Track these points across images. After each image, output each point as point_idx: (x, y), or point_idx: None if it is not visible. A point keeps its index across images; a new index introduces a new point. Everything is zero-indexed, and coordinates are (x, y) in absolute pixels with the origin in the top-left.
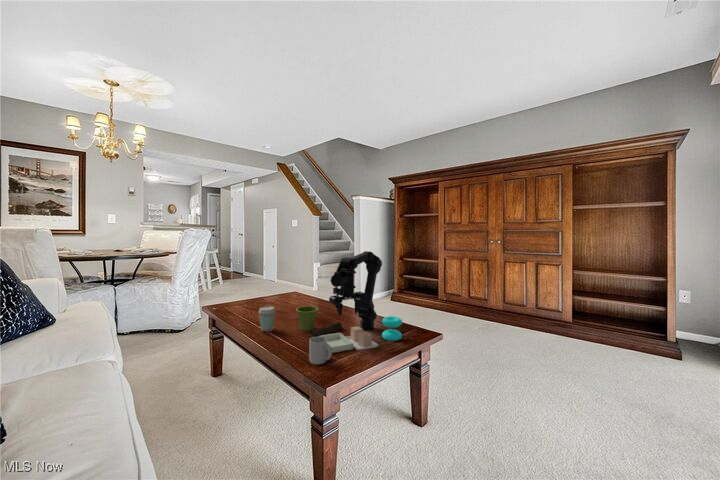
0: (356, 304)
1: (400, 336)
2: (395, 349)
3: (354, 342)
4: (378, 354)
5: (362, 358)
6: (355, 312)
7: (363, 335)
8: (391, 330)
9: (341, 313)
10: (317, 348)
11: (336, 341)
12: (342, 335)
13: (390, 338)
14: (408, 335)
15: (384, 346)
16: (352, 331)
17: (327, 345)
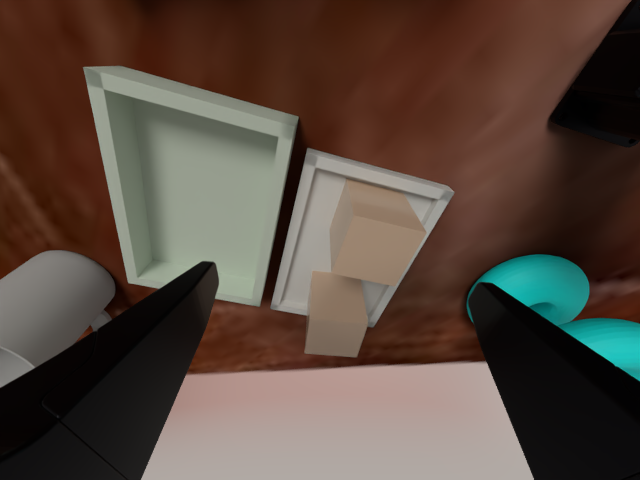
0: (577, 455)
1: None
2: (402, 351)
3: (321, 238)
4: None
5: (253, 339)
6: (477, 301)
7: (313, 346)
8: (555, 305)
9: (195, 337)
10: (9, 357)
11: (235, 167)
12: (275, 188)
13: (471, 320)
14: (594, 307)
15: (398, 321)
16: (339, 235)
17: None
